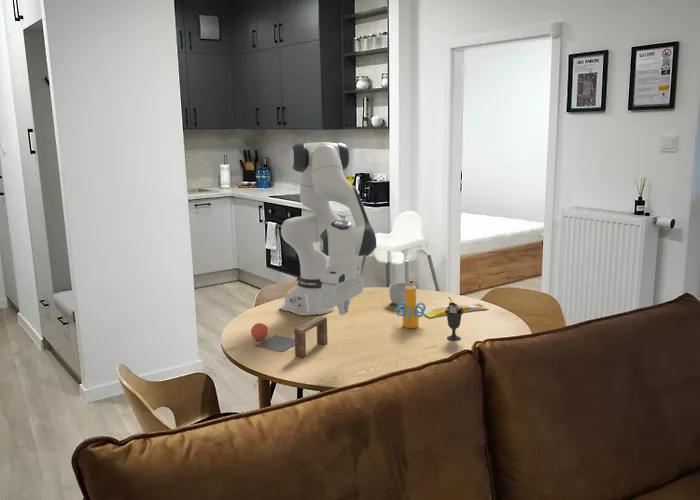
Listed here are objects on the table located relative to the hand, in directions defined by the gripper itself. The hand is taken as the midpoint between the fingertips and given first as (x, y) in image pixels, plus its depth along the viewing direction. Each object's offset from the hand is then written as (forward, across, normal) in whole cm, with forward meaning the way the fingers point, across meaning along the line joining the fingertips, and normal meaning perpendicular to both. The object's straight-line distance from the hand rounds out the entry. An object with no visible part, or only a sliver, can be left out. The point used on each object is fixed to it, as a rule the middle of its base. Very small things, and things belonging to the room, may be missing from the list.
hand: (343, 313), depth 201 cm
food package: (+16, -63, +13) cm, 66 cm away
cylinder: (+15, -38, +6) cm, 41 cm away
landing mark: (+15, 0, -27) cm, 31 cm away
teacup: (+15, -63, -10) cm, 66 cm away
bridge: (+15, 0, -13) cm, 20 cm away
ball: (+12, 0, -35) cm, 37 cm away
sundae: (+15, -33, +25) cm, 44 cm away
